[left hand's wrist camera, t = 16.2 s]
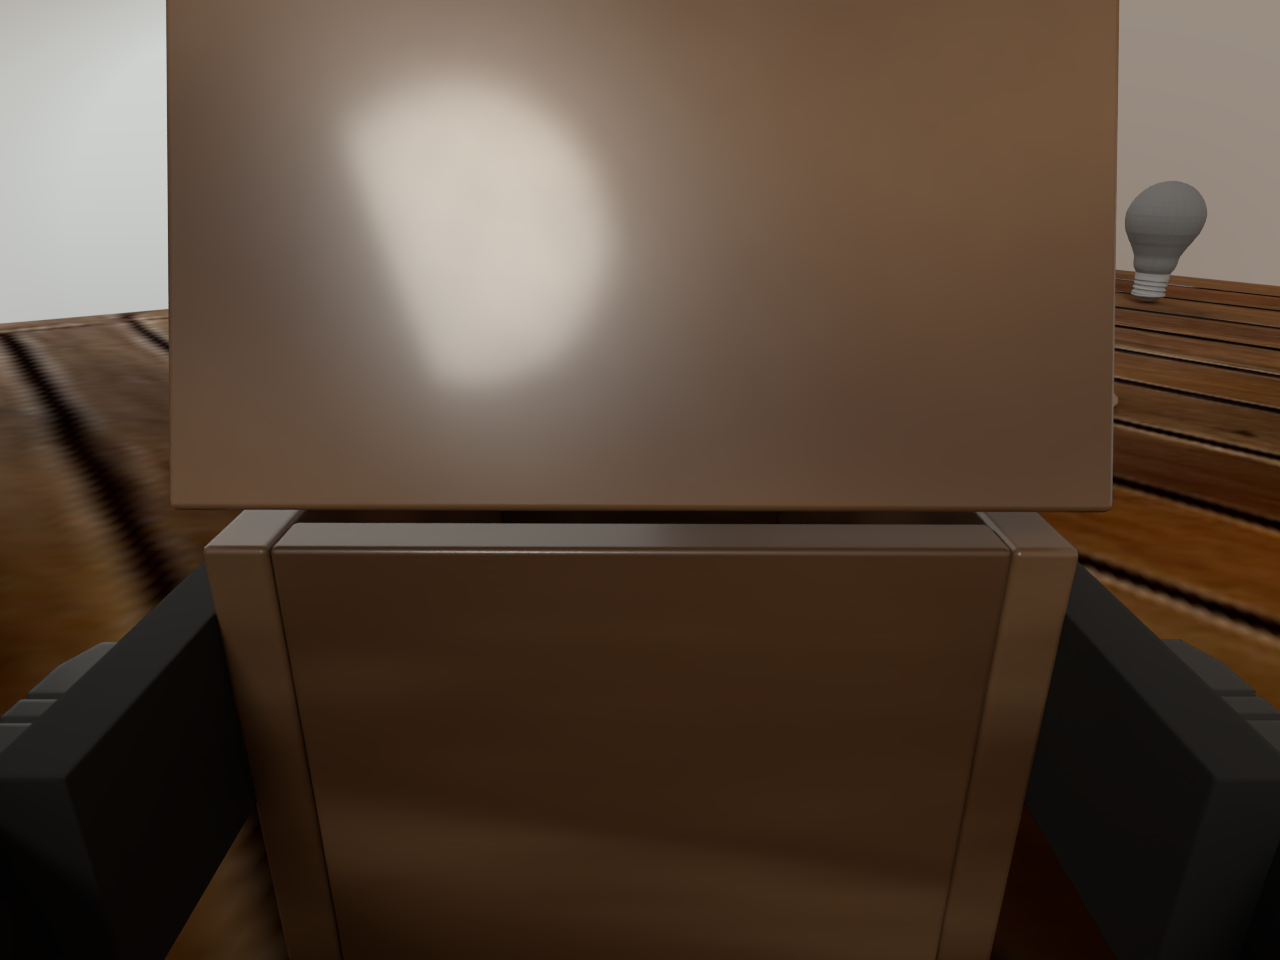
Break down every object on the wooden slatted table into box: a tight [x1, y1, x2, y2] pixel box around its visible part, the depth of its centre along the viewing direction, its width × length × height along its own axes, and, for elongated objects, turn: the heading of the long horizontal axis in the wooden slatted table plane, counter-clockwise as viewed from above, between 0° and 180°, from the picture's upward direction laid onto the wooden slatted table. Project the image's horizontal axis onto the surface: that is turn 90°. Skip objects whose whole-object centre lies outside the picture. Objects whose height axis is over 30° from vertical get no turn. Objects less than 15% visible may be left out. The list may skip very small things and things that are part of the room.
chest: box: [203, 510, 1078, 960], centre depth 18 cm, size 15×10×9 cm, turn 0°
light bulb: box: [1125, 181, 1207, 301], centre depth 73 cm, size 6×6×10 cm
